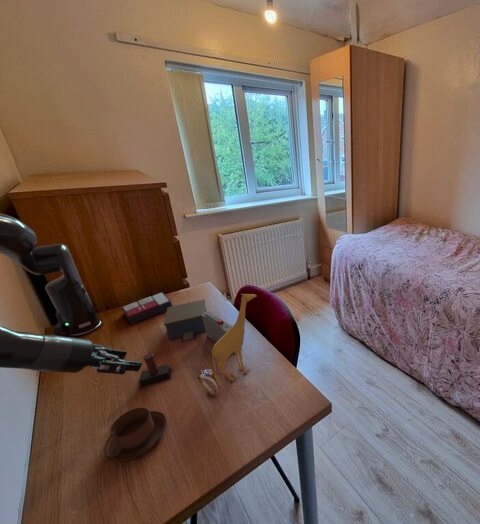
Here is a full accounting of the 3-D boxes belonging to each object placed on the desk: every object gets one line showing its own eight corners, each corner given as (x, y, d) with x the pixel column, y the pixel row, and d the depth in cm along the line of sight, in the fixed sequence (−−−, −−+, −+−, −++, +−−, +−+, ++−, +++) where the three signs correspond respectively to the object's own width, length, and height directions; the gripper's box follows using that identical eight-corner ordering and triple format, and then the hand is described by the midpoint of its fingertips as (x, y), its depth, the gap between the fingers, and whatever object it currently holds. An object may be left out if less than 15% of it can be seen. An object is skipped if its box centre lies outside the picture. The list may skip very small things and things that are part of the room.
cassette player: (239, 349, 95) (233, 324, 91) (231, 354, 93) (225, 329, 89) (214, 332, 104) (208, 309, 100) (207, 336, 102) (200, 312, 98)
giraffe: (262, 352, 94) (250, 285, 84) (270, 358, 91) (259, 290, 81) (214, 383, 82) (193, 310, 72) (222, 391, 80) (201, 316, 69)
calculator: (120, 306, 114) (162, 290, 124) (125, 315, 116) (165, 299, 126) (126, 317, 107) (170, 299, 117) (131, 326, 109) (173, 308, 118)
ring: (199, 392, 80) (192, 370, 76) (209, 384, 82) (202, 363, 79) (215, 402, 76) (208, 380, 73) (225, 393, 79) (219, 372, 76)
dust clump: (183, 333, 102) (184, 336, 102) (183, 338, 99) (183, 341, 100) (192, 331, 103) (193, 333, 103) (192, 336, 100) (193, 338, 101)
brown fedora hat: (156, 459, 63) (148, 441, 61) (95, 472, 61) (83, 453, 58) (175, 412, 74) (168, 395, 71) (123, 421, 72) (114, 404, 69)
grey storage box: (167, 341, 100) (161, 324, 97) (170, 322, 110) (165, 307, 107) (209, 330, 105) (204, 314, 102) (208, 314, 115) (204, 299, 112)
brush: (169, 379, 84) (161, 356, 81) (141, 387, 81) (131, 364, 78) (171, 369, 87) (163, 348, 84) (144, 377, 85) (134, 355, 81)
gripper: (81, 348, 62) (153, 356, 75) (57, 328, 68) (127, 339, 82) (60, 383, 60) (137, 385, 73) (37, 358, 66) (112, 364, 80)
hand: (132, 360), depth 78 cm, fingers open, 8 cm apart
